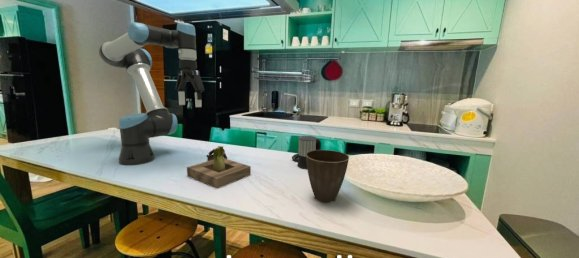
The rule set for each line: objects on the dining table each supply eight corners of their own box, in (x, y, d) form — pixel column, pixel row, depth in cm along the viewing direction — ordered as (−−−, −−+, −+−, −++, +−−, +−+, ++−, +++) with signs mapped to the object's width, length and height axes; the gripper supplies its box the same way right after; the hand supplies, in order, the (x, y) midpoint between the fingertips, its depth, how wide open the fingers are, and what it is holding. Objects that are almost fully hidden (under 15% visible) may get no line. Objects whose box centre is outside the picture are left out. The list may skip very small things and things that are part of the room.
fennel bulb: (214, 176, 97) (213, 149, 95) (210, 172, 101) (209, 146, 99) (227, 173, 101) (227, 146, 99) (223, 170, 104) (222, 144, 102)
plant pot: (295, 198, 82) (297, 155, 79) (318, 185, 94) (320, 147, 91) (332, 213, 73) (335, 165, 70) (352, 197, 84) (356, 155, 81)
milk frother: (310, 170, 110) (312, 140, 107) (282, 164, 118) (283, 136, 115) (322, 162, 122) (323, 135, 119) (296, 157, 130) (297, 131, 127)
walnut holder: (187, 175, 99) (186, 167, 99) (221, 165, 114) (221, 157, 113) (217, 188, 88) (216, 178, 87) (250, 174, 103) (250, 166, 102)
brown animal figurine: (226, 166, 114) (217, 153, 111) (211, 172, 116) (201, 160, 113) (232, 153, 125) (224, 141, 122) (218, 159, 127) (209, 147, 124)
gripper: (165, 60, 110) (168, 104, 114) (196, 57, 96) (198, 108, 100) (180, 61, 116) (182, 103, 120) (211, 59, 102) (213, 107, 106)
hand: (190, 105), depth 110 cm, fingers open, 13 cm apart
